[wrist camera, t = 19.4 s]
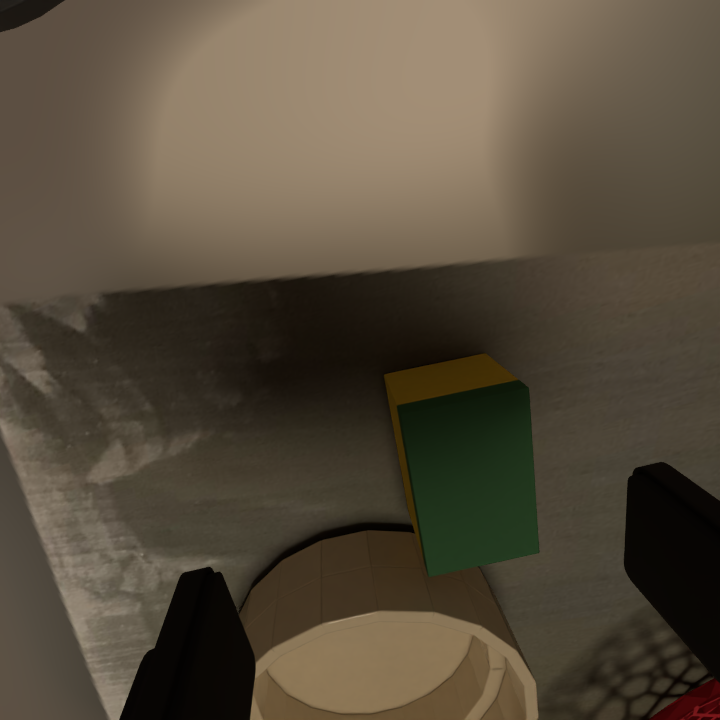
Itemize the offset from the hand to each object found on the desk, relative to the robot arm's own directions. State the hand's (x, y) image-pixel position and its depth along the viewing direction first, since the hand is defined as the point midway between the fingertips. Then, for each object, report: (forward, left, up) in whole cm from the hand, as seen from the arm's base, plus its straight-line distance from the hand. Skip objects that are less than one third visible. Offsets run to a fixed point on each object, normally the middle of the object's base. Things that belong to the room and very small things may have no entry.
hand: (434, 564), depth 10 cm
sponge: (+4, +3, -11) cm, 12 cm away
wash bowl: (+15, -3, -11) cm, 19 cm away
